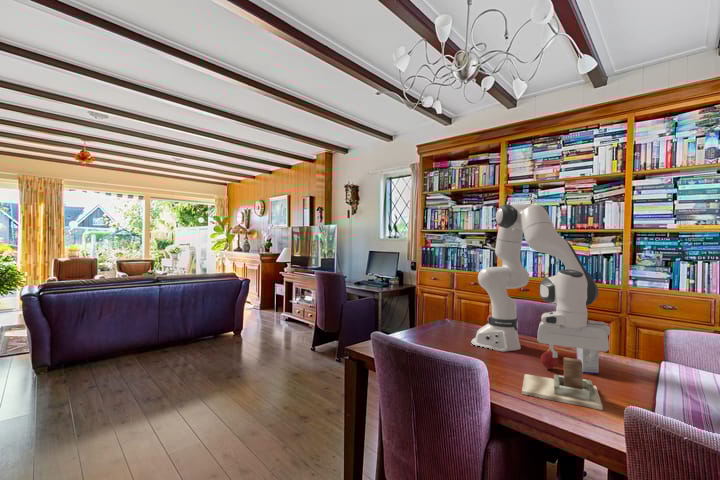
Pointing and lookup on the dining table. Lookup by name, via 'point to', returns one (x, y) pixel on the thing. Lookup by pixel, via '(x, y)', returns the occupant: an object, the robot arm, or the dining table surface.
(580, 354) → the supplement box
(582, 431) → the dining table surface
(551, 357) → the onion
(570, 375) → the walnut peg
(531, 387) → the socket stand
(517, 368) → the dining table surface
